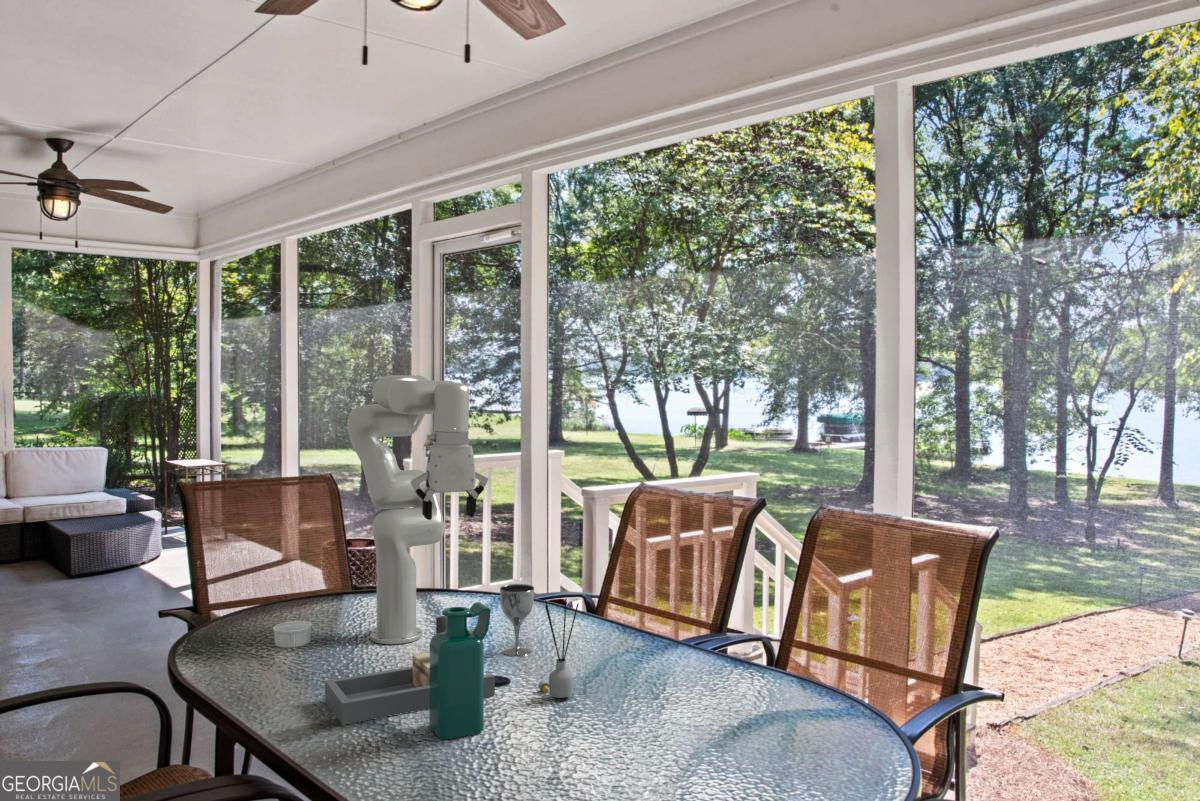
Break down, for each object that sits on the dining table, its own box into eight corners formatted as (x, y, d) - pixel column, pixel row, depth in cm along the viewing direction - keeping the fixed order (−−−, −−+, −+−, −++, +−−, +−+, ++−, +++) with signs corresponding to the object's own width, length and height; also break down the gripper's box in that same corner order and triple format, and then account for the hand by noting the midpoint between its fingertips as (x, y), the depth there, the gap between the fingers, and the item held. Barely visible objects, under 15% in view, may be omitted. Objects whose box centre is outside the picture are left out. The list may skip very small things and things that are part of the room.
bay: (325, 701, 167) (325, 679, 167) (468, 675, 183) (468, 656, 182) (342, 725, 155) (342, 702, 155) (494, 696, 170) (494, 675, 170)
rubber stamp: (412, 683, 174) (412, 615, 174) (458, 675, 179) (459, 609, 179) (428, 698, 166) (428, 627, 166) (476, 689, 171) (476, 620, 171)
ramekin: (304, 649, 201) (304, 630, 201) (266, 648, 201) (266, 630, 201) (317, 638, 210) (317, 620, 210) (281, 637, 210) (281, 620, 210)
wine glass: (536, 647, 203) (536, 584, 203) (530, 657, 195) (530, 592, 195) (503, 646, 204) (503, 583, 203) (496, 656, 196) (496, 591, 196)
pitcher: (440, 742, 148) (440, 616, 148) (426, 725, 156) (427, 605, 155) (493, 732, 153) (494, 609, 152) (478, 716, 160) (478, 599, 160)
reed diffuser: (586, 698, 169) (586, 598, 169) (565, 709, 164) (565, 605, 164) (546, 687, 175) (546, 591, 175) (524, 697, 170) (524, 597, 169)
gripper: (417, 441, 178) (415, 523, 179) (494, 440, 187) (492, 517, 187) (406, 438, 185) (405, 516, 186) (481, 437, 193) (480, 512, 194)
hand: (449, 517), depth 187 cm, fingers open, 9 cm apart
